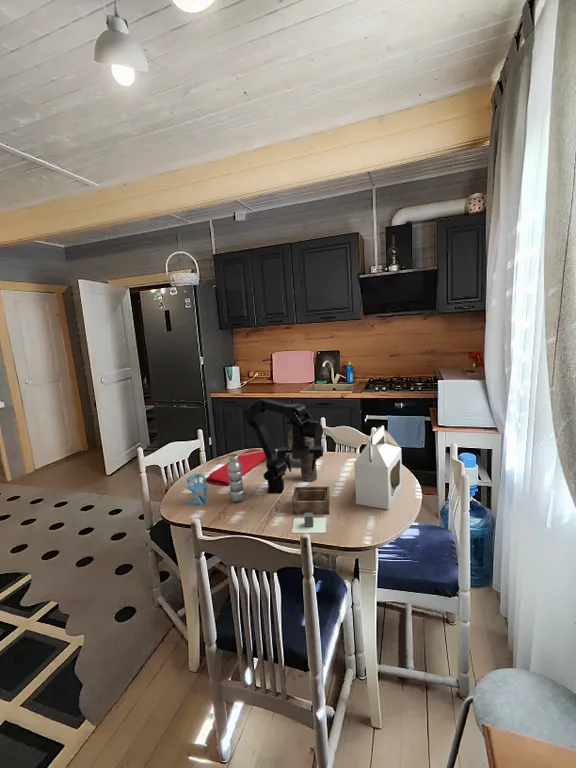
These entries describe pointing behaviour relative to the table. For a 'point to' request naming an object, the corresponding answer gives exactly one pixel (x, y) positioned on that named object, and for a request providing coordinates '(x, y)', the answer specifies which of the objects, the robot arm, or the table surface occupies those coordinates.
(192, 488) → the chair
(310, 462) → the rusty brown cylinder
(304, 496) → the walnut box
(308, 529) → the cover plate
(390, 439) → the gable box
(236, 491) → the plastic bottle
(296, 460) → the liquor
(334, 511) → the table surface
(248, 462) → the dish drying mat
